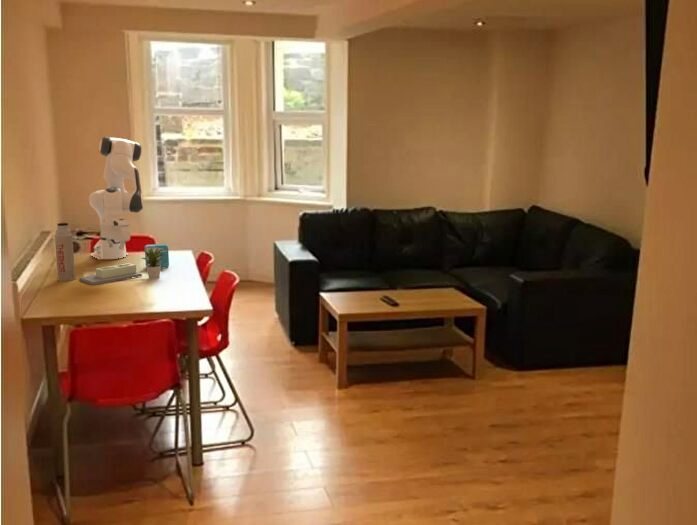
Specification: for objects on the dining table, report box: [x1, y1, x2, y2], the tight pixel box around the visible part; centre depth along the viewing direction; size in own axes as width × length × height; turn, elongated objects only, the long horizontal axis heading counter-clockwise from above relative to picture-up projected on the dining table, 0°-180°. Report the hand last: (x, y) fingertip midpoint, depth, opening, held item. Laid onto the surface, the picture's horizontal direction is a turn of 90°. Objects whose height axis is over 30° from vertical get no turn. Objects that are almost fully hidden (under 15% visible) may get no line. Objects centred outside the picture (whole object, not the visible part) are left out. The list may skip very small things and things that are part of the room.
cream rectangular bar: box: [95, 262, 138, 278], centre depth 357 cm, size 18×6×4 cm, turn 137°
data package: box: [144, 243, 170, 269], centre depth 381 cm, size 12×4×12 cm, turn 105°
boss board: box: [78, 271, 143, 286], centre depth 355 cm, size 14×26×4 cm, turn 137°
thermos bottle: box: [54, 222, 76, 282], centre depth 350 cm, size 8×8×28 cm
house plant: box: [140, 246, 169, 280], centre depth 354 cm, size 14×14×16 cm
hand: (115, 248), depth 355 cm, fingers open, 8 cm apart
